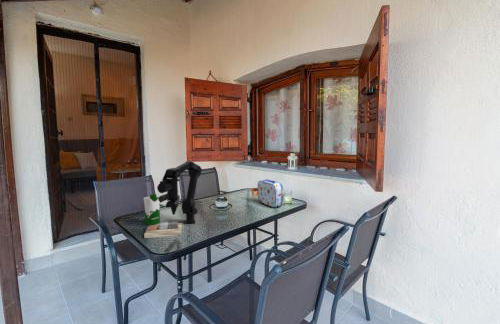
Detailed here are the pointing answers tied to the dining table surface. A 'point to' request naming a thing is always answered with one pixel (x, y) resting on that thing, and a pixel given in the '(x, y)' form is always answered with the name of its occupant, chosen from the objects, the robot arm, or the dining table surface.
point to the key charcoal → (174, 225)
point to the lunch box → (270, 193)
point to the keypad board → (163, 232)
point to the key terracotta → (154, 228)
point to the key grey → (164, 226)
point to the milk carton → (152, 210)
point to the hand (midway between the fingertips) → (173, 214)
